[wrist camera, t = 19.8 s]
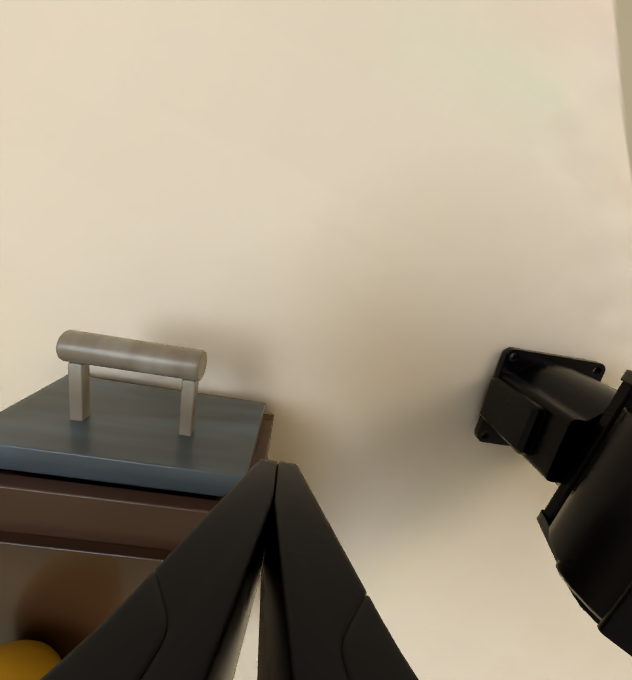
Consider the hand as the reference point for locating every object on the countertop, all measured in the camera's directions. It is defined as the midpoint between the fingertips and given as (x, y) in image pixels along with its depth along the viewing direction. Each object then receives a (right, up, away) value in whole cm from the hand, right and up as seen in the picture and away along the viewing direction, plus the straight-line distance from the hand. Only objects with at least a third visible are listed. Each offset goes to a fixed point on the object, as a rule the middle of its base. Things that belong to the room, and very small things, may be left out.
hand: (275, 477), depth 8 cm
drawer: (-9, -4, +14) cm, 17 cm away
